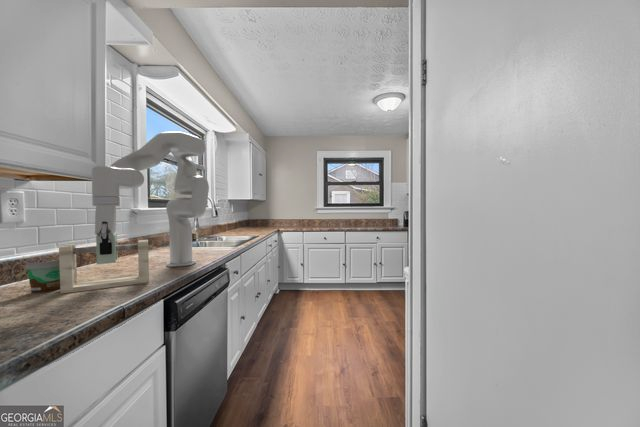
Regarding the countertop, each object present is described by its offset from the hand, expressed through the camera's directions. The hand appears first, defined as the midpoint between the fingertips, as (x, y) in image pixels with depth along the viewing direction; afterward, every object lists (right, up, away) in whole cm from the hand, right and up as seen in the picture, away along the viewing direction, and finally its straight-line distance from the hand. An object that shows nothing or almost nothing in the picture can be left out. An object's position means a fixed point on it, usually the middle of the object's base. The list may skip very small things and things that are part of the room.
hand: (107, 252), depth 96 cm
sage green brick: (0, -3, 0) cm, 3 cm away
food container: (-15, -12, -3) cm, 20 cm away
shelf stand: (0, -12, 0) cm, 12 cm away
